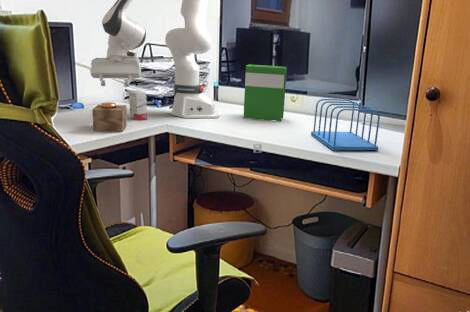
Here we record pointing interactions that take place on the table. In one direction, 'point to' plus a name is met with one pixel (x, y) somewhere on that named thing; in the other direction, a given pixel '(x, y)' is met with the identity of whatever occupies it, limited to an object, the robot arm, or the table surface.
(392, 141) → the table surface
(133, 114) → the ink box
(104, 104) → the pin
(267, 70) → the green cereal box
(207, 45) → the robot arm
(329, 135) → the file sorter
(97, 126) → the block
